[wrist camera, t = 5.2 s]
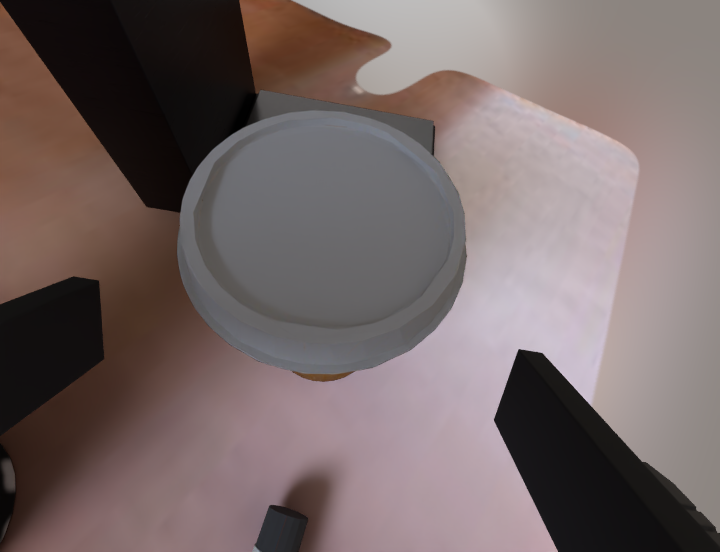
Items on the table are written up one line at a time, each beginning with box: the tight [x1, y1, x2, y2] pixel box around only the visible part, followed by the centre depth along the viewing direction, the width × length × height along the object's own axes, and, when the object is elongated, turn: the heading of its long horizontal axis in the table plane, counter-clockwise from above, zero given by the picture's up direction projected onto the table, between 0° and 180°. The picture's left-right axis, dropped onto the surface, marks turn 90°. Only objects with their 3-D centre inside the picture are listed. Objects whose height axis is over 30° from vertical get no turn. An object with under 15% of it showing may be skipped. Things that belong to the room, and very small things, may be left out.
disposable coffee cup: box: [177, 110, 467, 382], centre depth 16 cm, size 10×10×12 cm
